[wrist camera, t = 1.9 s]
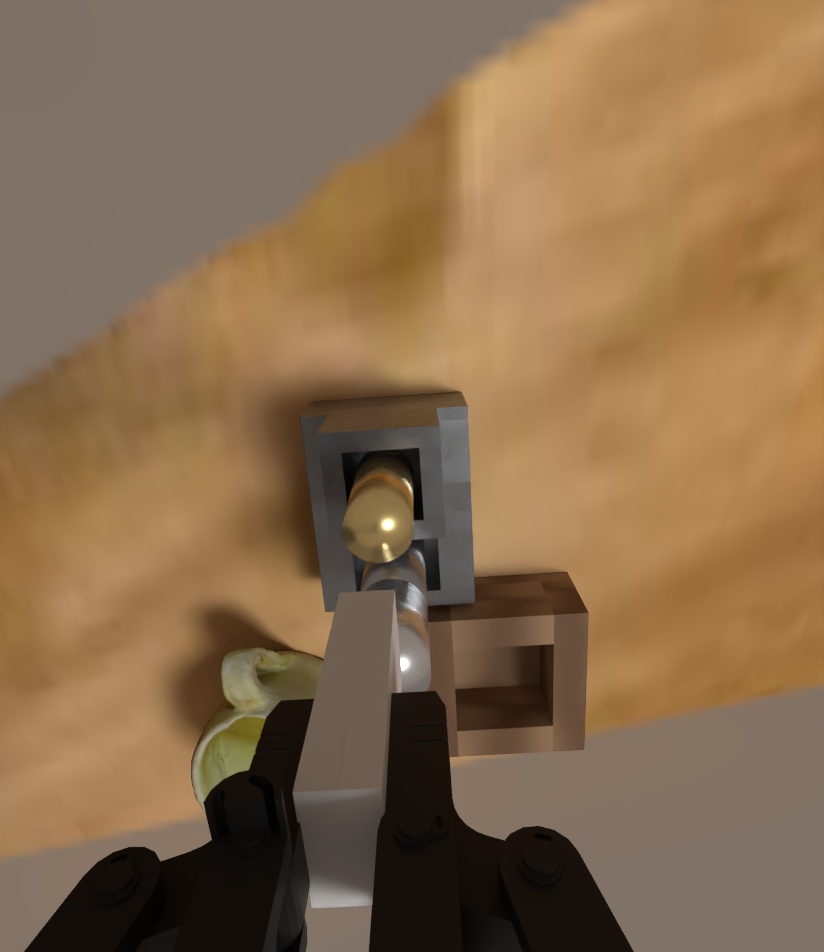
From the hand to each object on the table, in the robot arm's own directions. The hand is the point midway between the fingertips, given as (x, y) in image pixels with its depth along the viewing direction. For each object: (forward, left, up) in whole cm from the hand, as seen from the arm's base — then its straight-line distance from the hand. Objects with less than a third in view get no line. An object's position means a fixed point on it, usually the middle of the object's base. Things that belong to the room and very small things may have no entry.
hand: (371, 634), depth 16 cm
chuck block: (0, -4, -21) cm, 22 cm away
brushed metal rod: (0, -6, -20) cm, 21 cm away
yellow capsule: (0, 0, -14) cm, 14 cm away
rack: (+6, -15, -21) cm, 27 cm away
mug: (-9, -17, -22) cm, 29 cm away
